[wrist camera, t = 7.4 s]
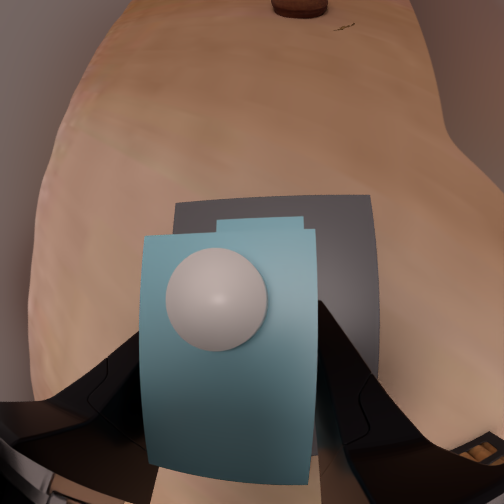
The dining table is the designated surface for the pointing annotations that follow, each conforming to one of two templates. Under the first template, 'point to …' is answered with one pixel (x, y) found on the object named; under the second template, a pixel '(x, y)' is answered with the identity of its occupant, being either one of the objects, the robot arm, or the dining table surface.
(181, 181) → the dining table surface
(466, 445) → the ammunition clip
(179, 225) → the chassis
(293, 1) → the ceramic pot
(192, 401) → the servo
